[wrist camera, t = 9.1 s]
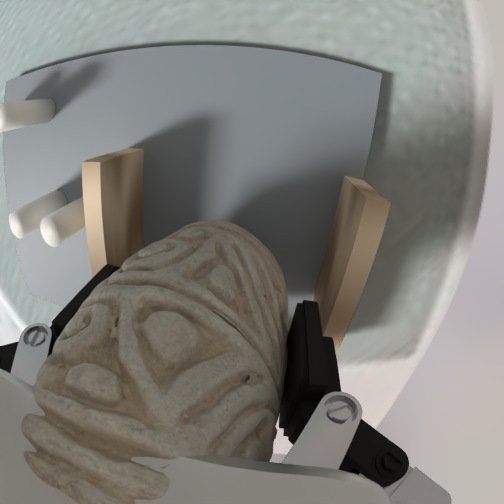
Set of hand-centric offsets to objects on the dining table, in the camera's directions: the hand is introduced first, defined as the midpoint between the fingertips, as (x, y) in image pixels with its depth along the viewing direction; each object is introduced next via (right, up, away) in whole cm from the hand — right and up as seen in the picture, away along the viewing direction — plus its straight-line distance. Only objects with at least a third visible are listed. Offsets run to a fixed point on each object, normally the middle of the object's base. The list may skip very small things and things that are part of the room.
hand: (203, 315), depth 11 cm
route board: (-5, +5, +5) cm, 9 cm away
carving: (0, +1, +3) cm, 3 cm away
